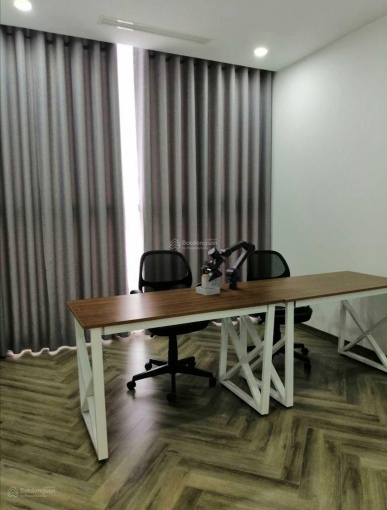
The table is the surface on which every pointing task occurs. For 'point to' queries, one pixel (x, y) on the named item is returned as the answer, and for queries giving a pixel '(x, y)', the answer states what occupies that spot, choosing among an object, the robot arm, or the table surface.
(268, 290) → the table surface
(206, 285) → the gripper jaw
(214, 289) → the housing
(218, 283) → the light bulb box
